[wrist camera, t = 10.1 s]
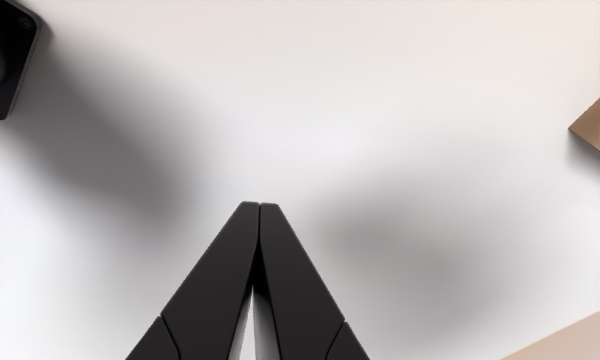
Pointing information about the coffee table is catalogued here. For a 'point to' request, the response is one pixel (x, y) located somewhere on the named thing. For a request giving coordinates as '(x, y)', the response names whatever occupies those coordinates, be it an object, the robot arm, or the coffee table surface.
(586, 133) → the walnut card box
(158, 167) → the coffee table surface
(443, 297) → the coffee table surface
